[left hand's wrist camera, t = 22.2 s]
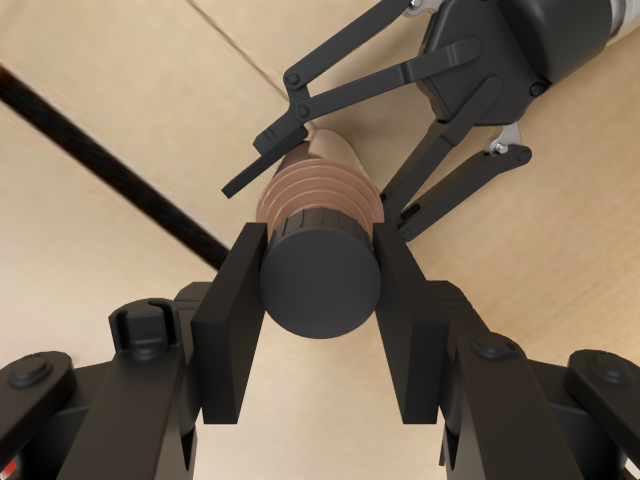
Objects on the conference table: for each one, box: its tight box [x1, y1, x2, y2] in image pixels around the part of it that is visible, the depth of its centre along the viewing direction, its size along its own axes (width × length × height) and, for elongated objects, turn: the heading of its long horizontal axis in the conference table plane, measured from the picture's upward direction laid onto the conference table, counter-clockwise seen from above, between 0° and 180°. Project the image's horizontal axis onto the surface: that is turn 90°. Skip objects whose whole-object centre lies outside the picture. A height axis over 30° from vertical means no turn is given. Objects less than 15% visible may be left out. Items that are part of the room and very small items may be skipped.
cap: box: [259, 207, 381, 339], centre depth 13 cm, size 4×4×2 cm
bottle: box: [256, 129, 384, 244], centre depth 23 cm, size 6×6×21 cm
